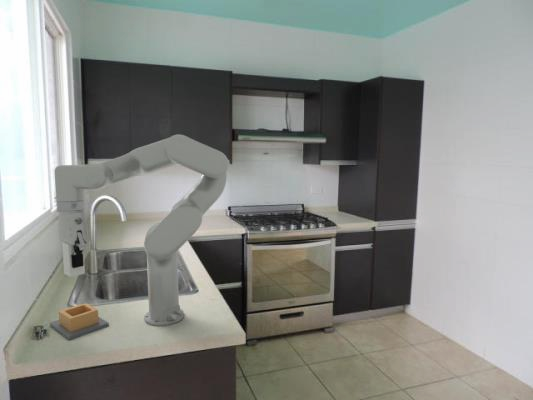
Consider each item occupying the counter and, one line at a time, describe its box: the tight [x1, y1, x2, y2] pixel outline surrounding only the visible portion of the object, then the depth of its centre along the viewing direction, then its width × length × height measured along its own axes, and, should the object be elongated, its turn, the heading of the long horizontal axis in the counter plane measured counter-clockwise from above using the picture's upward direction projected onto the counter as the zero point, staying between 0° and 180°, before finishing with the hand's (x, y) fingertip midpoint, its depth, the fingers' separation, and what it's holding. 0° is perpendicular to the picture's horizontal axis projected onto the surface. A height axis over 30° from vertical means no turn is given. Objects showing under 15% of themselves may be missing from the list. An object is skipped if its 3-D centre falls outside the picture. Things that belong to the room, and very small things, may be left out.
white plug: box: [61, 241, 86, 278], centre depth 116 cm, size 4×4×10 cm
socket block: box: [49, 302, 110, 341], centre depth 119 cm, size 14×12×5 cm
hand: (74, 264), depth 117 cm, fingers closed on white plug, 4 cm apart
